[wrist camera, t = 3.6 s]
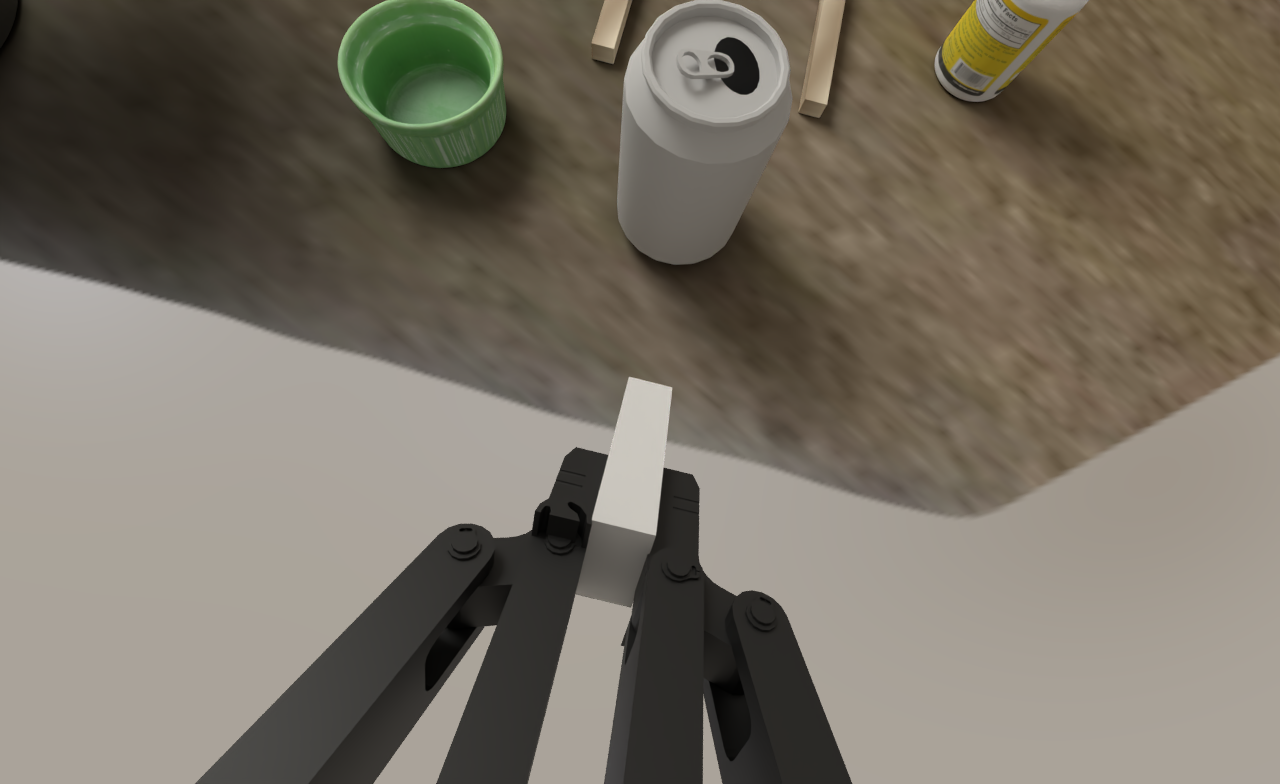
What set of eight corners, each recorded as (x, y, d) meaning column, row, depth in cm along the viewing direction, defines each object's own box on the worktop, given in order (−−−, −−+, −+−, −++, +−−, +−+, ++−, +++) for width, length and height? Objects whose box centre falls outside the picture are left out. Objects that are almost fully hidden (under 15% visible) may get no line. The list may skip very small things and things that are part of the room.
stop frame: (591, 58, 34) (591, 42, 33) (637, -89, 37) (638, -108, 36) (819, 118, 35) (827, 104, 33) (846, -33, 38) (854, -50, 36)
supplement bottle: (991, 40, 37) (1127, -119, 28) (1011, 103, 36) (1159, -39, 27) (923, 42, 37) (1036, -119, 27) (940, 106, 36) (1065, -38, 26)
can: (747, 258, 32) (832, 119, 20) (632, 282, 31) (652, 150, 19) (714, 156, 33) (776, -30, 22) (604, 175, 32) (606, -8, 21)
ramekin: (534, 82, 34) (525, 21, 29) (485, 196, 32) (467, 149, 27) (405, 40, 34) (376, -27, 29) (348, 152, 32) (308, 97, 27)
